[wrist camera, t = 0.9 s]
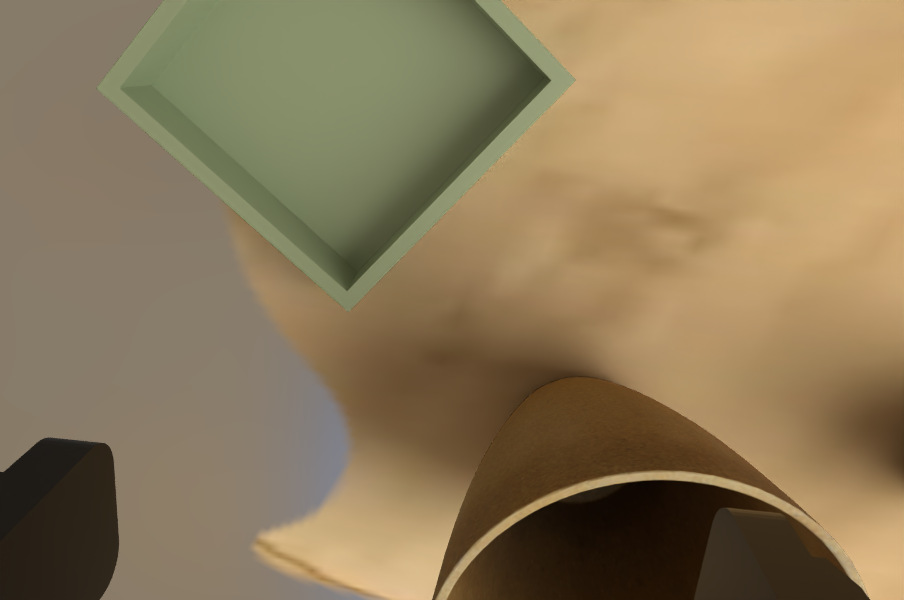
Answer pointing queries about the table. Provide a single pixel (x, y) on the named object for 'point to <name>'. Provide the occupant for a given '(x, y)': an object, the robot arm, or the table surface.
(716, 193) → the table surface
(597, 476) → the plant pot
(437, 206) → the olive bin
